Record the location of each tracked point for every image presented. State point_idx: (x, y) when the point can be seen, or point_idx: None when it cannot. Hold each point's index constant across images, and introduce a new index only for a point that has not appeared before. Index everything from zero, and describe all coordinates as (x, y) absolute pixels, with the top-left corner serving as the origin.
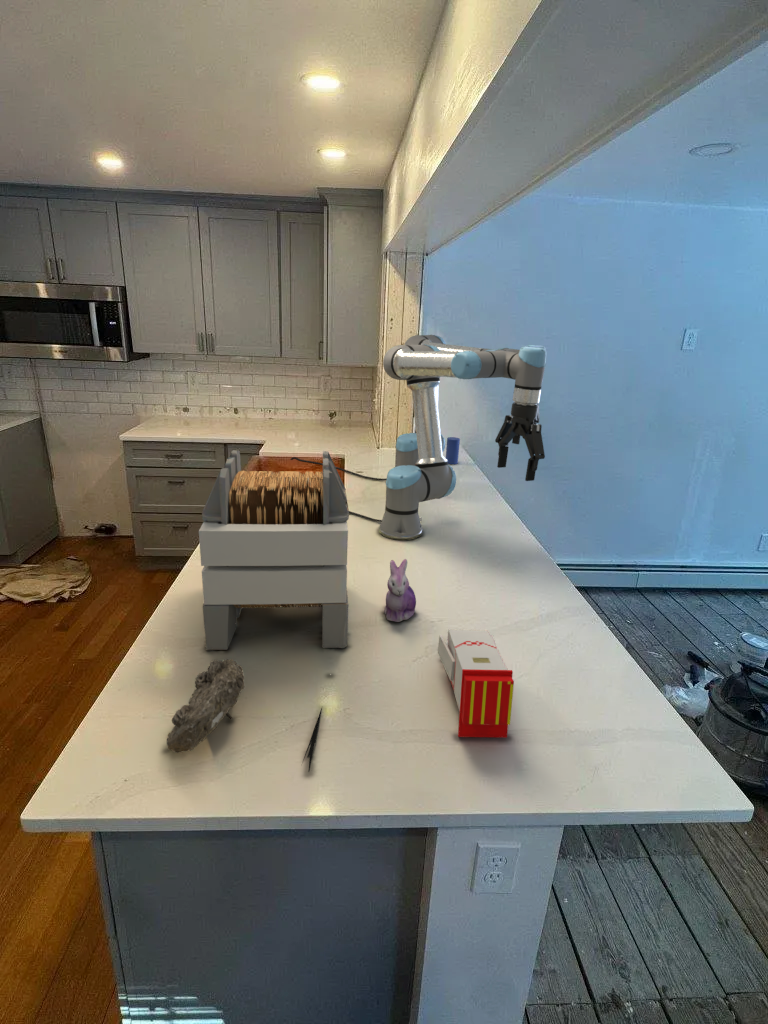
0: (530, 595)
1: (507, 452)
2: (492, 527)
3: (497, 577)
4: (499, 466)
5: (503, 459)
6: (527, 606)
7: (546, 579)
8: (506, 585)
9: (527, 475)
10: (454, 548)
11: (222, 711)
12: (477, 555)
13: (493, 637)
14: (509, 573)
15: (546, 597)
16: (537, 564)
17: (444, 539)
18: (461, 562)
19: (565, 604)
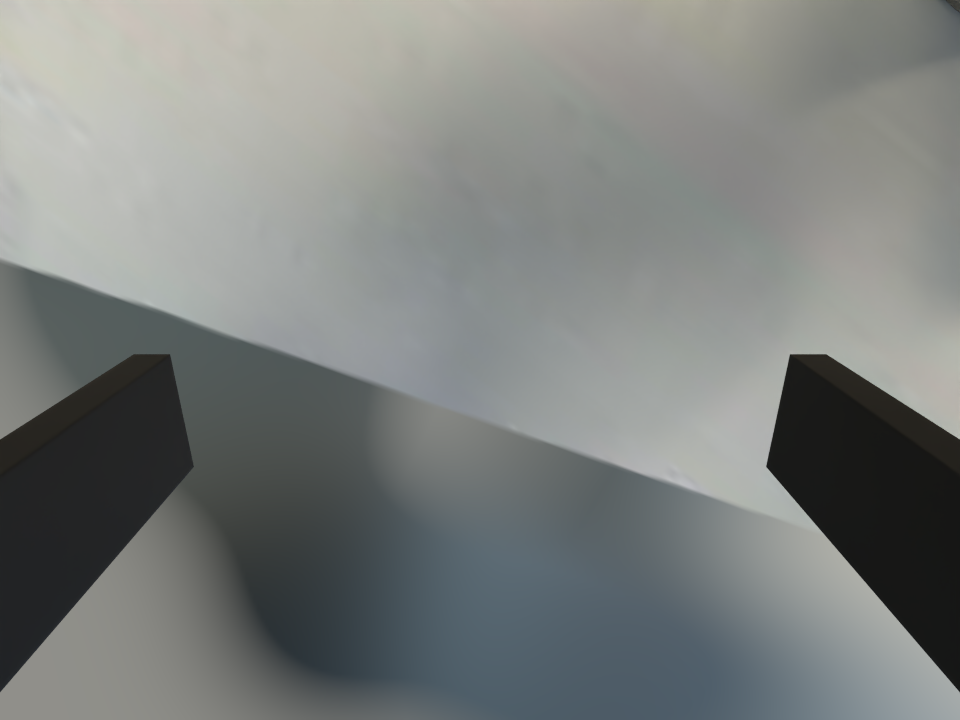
0: (143, 122)
1: (917, 633)
2: None
3: (341, 88)
4: (798, 373)
5: (848, 483)
6: (46, 34)
7: (266, 292)
8: (255, 76)
9: (83, 387)
10: (703, 80)
11: None
12: (582, 148)
13: None
14: (362, 174)
15: (114, 179)
16: (403, 351)
17: (821, 96)
18: (546, 9)
19: (44, 214)
